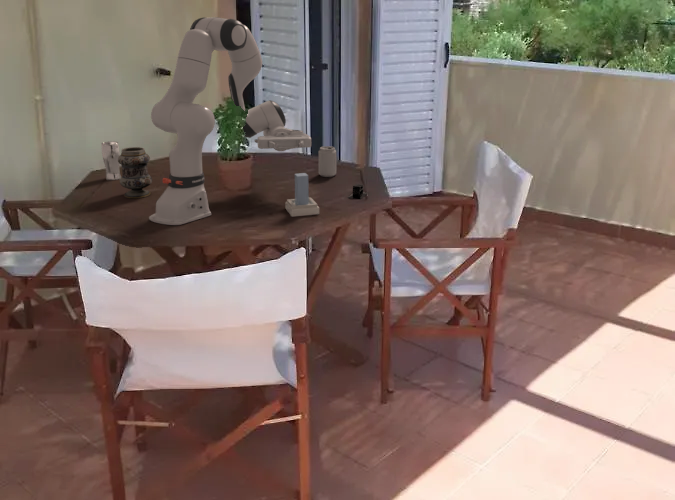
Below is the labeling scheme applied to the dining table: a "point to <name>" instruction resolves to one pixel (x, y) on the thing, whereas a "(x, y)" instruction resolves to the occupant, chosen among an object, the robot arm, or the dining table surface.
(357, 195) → the black box
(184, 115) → the robot arm
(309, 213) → the footing
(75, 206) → the dining table surface
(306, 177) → the pillar
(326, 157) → the can
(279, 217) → the dining table surface
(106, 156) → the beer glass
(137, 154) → the apothecary jar
